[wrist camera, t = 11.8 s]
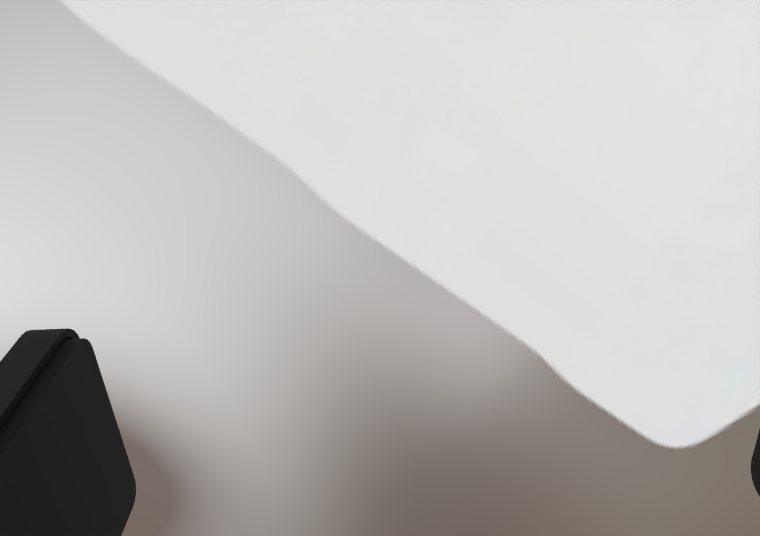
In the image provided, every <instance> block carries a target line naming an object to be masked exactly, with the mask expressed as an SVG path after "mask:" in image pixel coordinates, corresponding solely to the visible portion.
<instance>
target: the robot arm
mask: <svg viewBox="0 0 760 536" xmlns="http://www.w3.org/2000/svg"><path fill="white" fill-rule="evenodd" d="M751 474H752V480H753V483H754V486H755V488H756V491H757V492H758V494H759V496H760V430H759V434H758V438H757V442H756V445H755V450H754V453H753V457H752V461H751ZM135 495H136V483H135V478H134V475H133V472H132V469H131V466H130V463H129V460H128V456H127V454H126V450H125V447H124V444H123V441H122V438H121V435H120V431H119V428H118V425H117V422H116V419H115V416H114V413H113V410H112V407H111V404H110V400H109V398H108V394H107V391H106V388H105V385H104V382H103V379H102V376H101V373H100V369H99V366H98V363H97V360H96V357H95V354H94V351H93V348H92V346H91V343H90V342H89V341H88V340H87V339H80V338H79V336H78V334H77V333H76V332H75V331H74V330H72V329H46V330H30V331H26V332H25V333H24V334H23V335H22V336H21V337H20V338H19V339H18V340H17V342H16V343H15V344H14V345H13V347H12V348H11V349H10V350H9V352H8V353H7V354H6V356H5V357H4V358H3V359H2V360H1V362H0V536H121V534H122V532H123V530H124V527H125V525H126V522H127V520H128V518H129V515H130V513H131V510H132V508H133V505H134V501H135Z"/></svg>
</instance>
